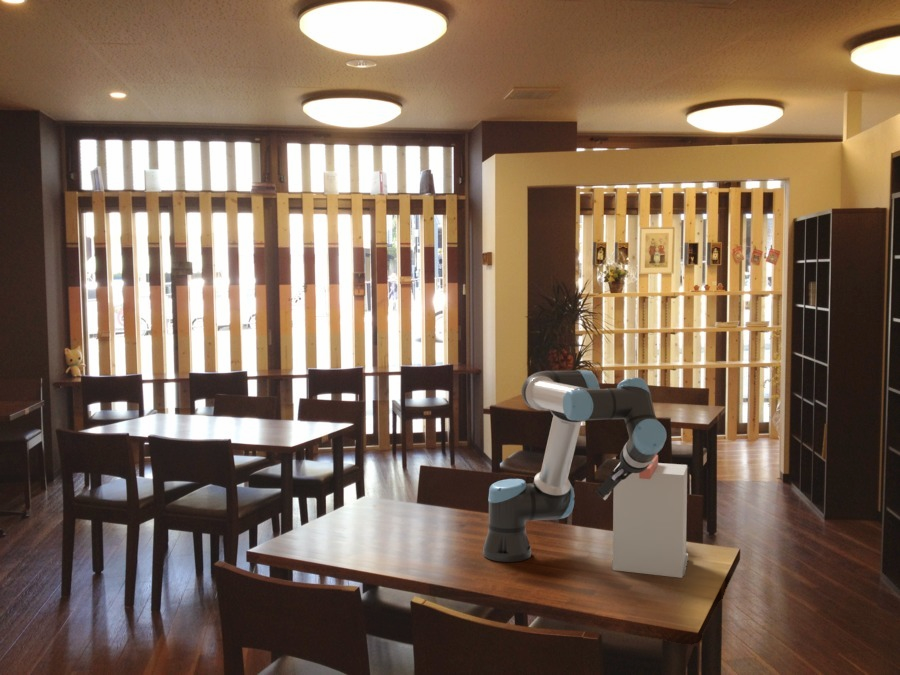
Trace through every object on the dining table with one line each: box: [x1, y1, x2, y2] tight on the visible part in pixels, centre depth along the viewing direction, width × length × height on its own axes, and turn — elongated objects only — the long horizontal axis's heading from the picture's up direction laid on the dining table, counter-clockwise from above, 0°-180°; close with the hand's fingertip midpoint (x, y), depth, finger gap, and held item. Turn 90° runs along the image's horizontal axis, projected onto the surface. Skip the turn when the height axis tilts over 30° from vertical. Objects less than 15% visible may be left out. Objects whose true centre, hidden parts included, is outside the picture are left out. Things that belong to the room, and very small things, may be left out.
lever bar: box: [639, 454, 659, 479], centre depth 236 cm, size 22×3×3 cm, turn 160°
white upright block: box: [611, 461, 689, 579], centre depth 243 cm, size 18×21×30 cm
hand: (620, 480), depth 220 cm, fingers open, 13 cm apart
